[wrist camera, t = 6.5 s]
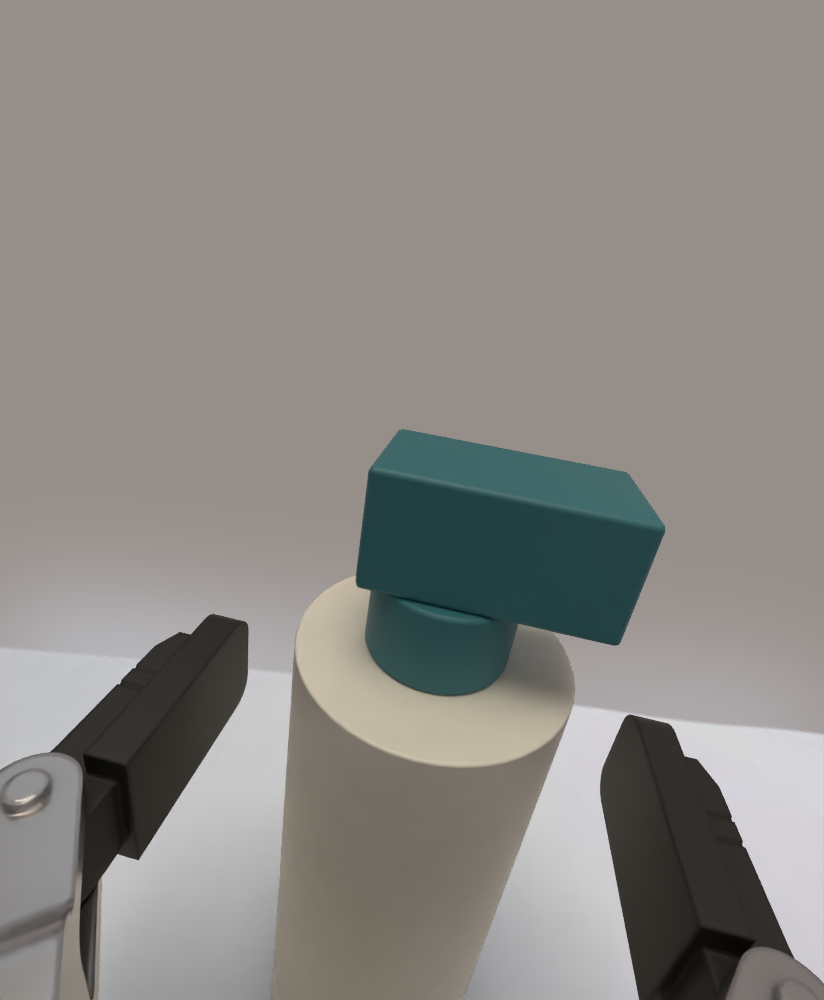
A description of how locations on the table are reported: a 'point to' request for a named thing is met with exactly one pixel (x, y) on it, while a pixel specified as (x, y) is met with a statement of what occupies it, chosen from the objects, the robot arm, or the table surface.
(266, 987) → the table surface
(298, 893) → the spray bottle
